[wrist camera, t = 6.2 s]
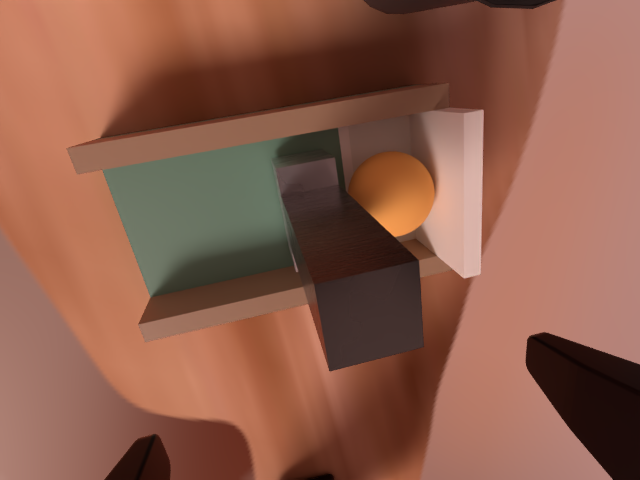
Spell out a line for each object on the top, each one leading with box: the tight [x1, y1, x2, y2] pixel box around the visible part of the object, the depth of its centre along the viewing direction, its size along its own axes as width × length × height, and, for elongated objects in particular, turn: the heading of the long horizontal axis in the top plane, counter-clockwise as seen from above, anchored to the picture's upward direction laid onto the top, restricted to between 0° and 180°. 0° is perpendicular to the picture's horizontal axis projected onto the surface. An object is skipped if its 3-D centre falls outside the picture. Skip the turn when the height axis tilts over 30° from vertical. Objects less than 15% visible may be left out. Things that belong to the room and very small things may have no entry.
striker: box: [271, 149, 424, 371], centre depth 14 cm, size 5×2×11 cm, turn 8°
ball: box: [348, 151, 435, 237], centre depth 18 cm, size 4×4×4 cm
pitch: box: [66, 83, 484, 342], centre depth 17 cm, size 9×15×6 cm, turn 98°
